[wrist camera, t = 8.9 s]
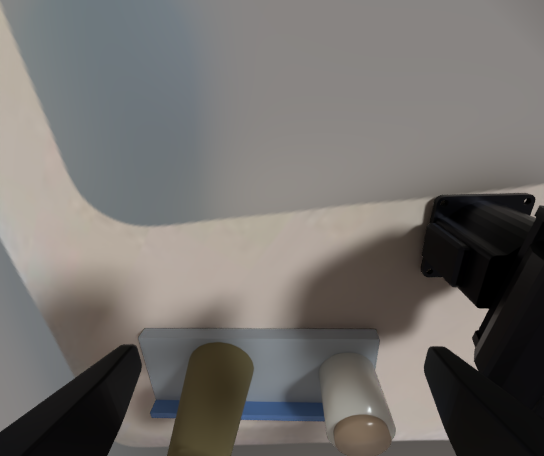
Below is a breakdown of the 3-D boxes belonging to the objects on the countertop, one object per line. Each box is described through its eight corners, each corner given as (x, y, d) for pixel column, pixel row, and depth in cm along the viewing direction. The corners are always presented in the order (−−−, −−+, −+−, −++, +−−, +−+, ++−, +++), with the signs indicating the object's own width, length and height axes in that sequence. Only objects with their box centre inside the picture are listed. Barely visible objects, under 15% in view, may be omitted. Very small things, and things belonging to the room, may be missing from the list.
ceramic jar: (377, 352, 24) (403, 419, 19) (371, 392, 26) (393, 462, 20) (319, 352, 24) (329, 417, 19) (317, 391, 26) (326, 461, 21)
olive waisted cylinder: (241, 336, 24) (208, 503, 13) (262, 383, 26) (248, 559, 16) (178, 349, 25) (102, 515, 14) (203, 394, 27) (154, 566, 17)
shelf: (375, 329, 24) (385, 351, 22) (366, 396, 28) (373, 422, 25) (144, 328, 25) (130, 349, 23) (162, 393, 29) (151, 417, 26)
